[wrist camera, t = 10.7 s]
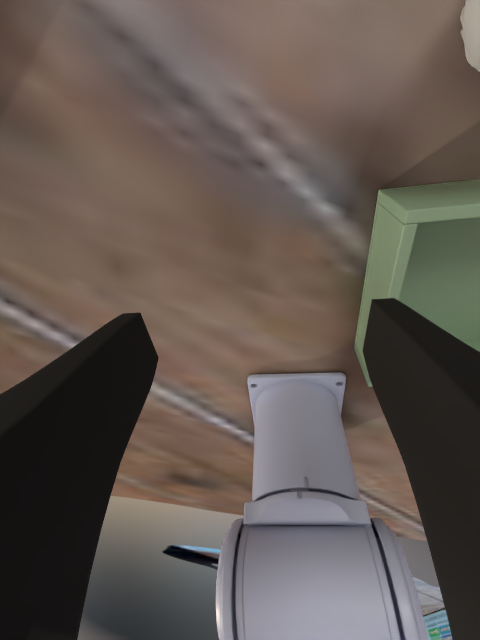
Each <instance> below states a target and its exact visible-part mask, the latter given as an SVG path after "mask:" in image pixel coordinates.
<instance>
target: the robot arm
mask: <svg viewBox="0 0 480 640" xmlns="http://www.w3.org/2000/svg"><path fill="white" fill-rule="evenodd" d="M362 351H363V355H364V359H365V363H366V367H367V371H368V374H369V378H370V381H371V384H372V386H373V389H374V391H375V393H376V396H377V398H378V401H379V403H380V406H381V408H382V410H383V413H384V415H385V418H386V420H387V422H388V425H389V427H390V429H391V432H392V434H393V437H394V439H395V441H396V444H397V446H398V448H399V451H400V454H401V456H402V459H403V462H404V464H405V467H406V470H407V474H408V477H409V480H410V483H411V487H412V490H413V493H414V496H415V500H416V503H417V506H418V510H419V513H420V517H421V520H422V524H423V527H424V531H425V534H426V538H427V541H428V545H429V548H430V551H431V556H432V559H433V563H434V567H435V571H436V575H437V578H438V582H439V586H440V590H441V594H442V598H443V601H444V606H445V610H446V614H447V618H448V622H449V626H450V631H451V635H452V639H453V640H480V352H479V351H477V350H476V349H474V348H472V347H471V346H469V345H467V344H466V343H464V342H462V341H461V340H459V339H458V338H456V337H454V336H453V335H451V334H450V333H448V332H447V331H445V330H443V329H442V328H440V327H439V326H437V325H436V324H434V323H433V322H431V321H430V320H428V319H427V318H425V317H423V316H422V315H420V314H419V313H417V312H416V311H414V310H413V309H411V308H410V307H408V306H407V305H405V304H403V303H402V302H400V301H398V300H397V299H395V298H385V299H372V301H371V306H370V312H369V317H368V323H367V328H366V334H365V339H364V345H363V350H362ZM157 362H158V355H157V353H156V351H155V348H154V346H153V343H152V341H151V338H150V336H149V333H148V331H147V328H146V326H145V323H144V321H143V318H142V316H141V313H127V314H122V315H120V316H118V317H116V318H115V319H113V320H112V321H110V322H109V323H107V324H106V325H104V326H103V327H101V328H100V329H98V330H97V331H96V332H94V333H93V334H91V335H90V336H89V337H87V338H86V339H84V340H83V341H81V342H80V343H79V344H77V345H76V346H74V347H73V348H72V349H70V350H69V351H67V352H66V353H64V354H63V355H62V356H60V357H59V358H57V359H56V360H54V361H53V362H51V363H50V364H48V365H47V366H45V367H43V368H42V369H40V370H39V371H37V372H36V373H34V374H33V375H31V376H30V377H28V378H27V379H25V380H24V381H22V382H20V383H19V384H17V385H15V386H14V387H12V388H10V389H9V390H7V391H5V392H4V393H2V394H0V640H77V638H78V632H79V627H80V622H81V617H82V612H83V607H84V602H85V597H86V592H87V587H88V583H89V578H90V573H91V569H92V565H93V561H94V557H95V552H96V548H97V544H98V540H99V536H100V532H101V528H102V524H103V521H104V517H105V513H106V510H107V506H108V502H109V499H110V495H111V492H112V489H113V485H114V482H115V479H116V475H117V472H118V469H119V465H120V462H121V460H122V457H123V454H124V451H125V449H126V446H127V444H128V441H129V439H130V437H131V434H132V432H133V429H134V427H135V425H136V422H137V420H138V417H139V415H140V413H141V410H142V408H143V405H144V403H145V400H146V398H147V396H148V393H149V391H150V388H151V385H152V382H153V378H154V375H155V371H156V367H157ZM247 382H248V389H249V395H250V402H251V408H252V414H253V421H254V427H255V437H254V463H253V489H252V502H245V504H244V519H237V520H235V521H234V523H233V524H232V526H231V528H230V529H229V531H228V532H227V534H226V536H225V538H224V541H223V544H222V547H221V552H220V557H219V563H218V572H217V583H216V619H217V629H218V634H219V639H220V640H428V637H427V632H426V627H425V623H424V618H423V614H422V610H421V606H420V602H419V599H418V595H417V592H416V588H415V585H414V581H413V578H412V575H411V572H410V569H409V566H408V563H407V560H406V557H405V555H404V552H403V549H402V547H401V544H400V542H399V540H398V538H397V536H396V534H395V533H394V531H393V530H391V529H390V528H389V527H388V526H387V525H386V524H385V523H384V521H383V520H382V519H380V518H371V519H370V516H369V512H368V508H367V504H366V501H365V500H361V499H360V495H359V490H358V486H357V482H356V478H355V474H354V469H353V465H352V461H351V457H350V453H349V449H348V444H347V440H346V436H345V432H344V428H343V423H342V419H341V410H342V404H343V397H344V390H345V383H346V377H345V374H344V373H340V372H337V373H298V374H258V375H250V376H248V380H247Z"/></svg>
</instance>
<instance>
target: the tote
mask: <svg viewBox="0 0 480 640" xmlns="http://www.w3.org/2000/svg"><path fill="white" fill-rule="evenodd" d="M385 298H395V299H397V300H398V301H400V302H402V303H403V304H405V305H407V306H408V307H410V308H411V309H413V310H414V311H416V312H417V313H419V314H420V315H422V316H423V317H425V318H427V319H428V320H430V321H431V322H433V323H434V324H436V325H437V326H439V327H440V328H442V329H443V330H445V331H447V332H448V333H450V334H451V335H453V336H454V337H456V338H458V339H459V340H461V341H462V342H464V343H466V344H467V345H469V346H471V347H472V348H474V349H476V350H477V351H479V352H480V179H474V180H465V181H455V182H446V183H437V184H427V185H418V186H409V187H399V188H390V189H381V190H379V191H378V197H377V204H376V210H375V217H374V223H373V229H372V236H371V242H370V249H369V255H368V261H367V268H366V274H365V280H364V287H363V293H362V300H361V306H360V312H359V319H358V325H357V332H356V338H355V344H354V349H355V352H356V355H357V357H358V360H359V363H360V366H361V368H362V371H363V374H364V377H365V379H366V382H367V385H368V387H373V386H372V384H371V381H370V378H369V374H368V371H367V367H366V363H365V359H364V355H363V351H362V350H363V345H364V339H365V334H366V328H367V323H368V317H369V312H370V306H371V301H372V299H385Z"/></svg>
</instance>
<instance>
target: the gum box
mask: <svg viewBox="0 0 480 640" xmlns="http://www.w3.org/2000/svg"><path fill="white" fill-rule="evenodd" d="M423 618H424V623H425V627H426V632H427V637H428V640H453V639H452V635H451V631H450V626H449V622H448V618H447V614H446V610H445V609H444V610H441V611H438V612H435V613H432V614H430V615H427V616H424V617H423Z"/></svg>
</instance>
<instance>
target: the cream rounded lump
mask: <svg viewBox="0 0 480 640" xmlns="http://www.w3.org/2000/svg"><path fill="white" fill-rule="evenodd" d="M465 2H466V4H465V6H464V7H463V9H462V11H461V16H460V20H461V23H462V26H463V29H462V30H461V36H462V38H463V41H464V47H465V55H466V59H467V62H468V63H469V64H470V65H471V66H472V67H474V68H476V69H477V70H478V71H479V72H480V0H465Z"/></svg>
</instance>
